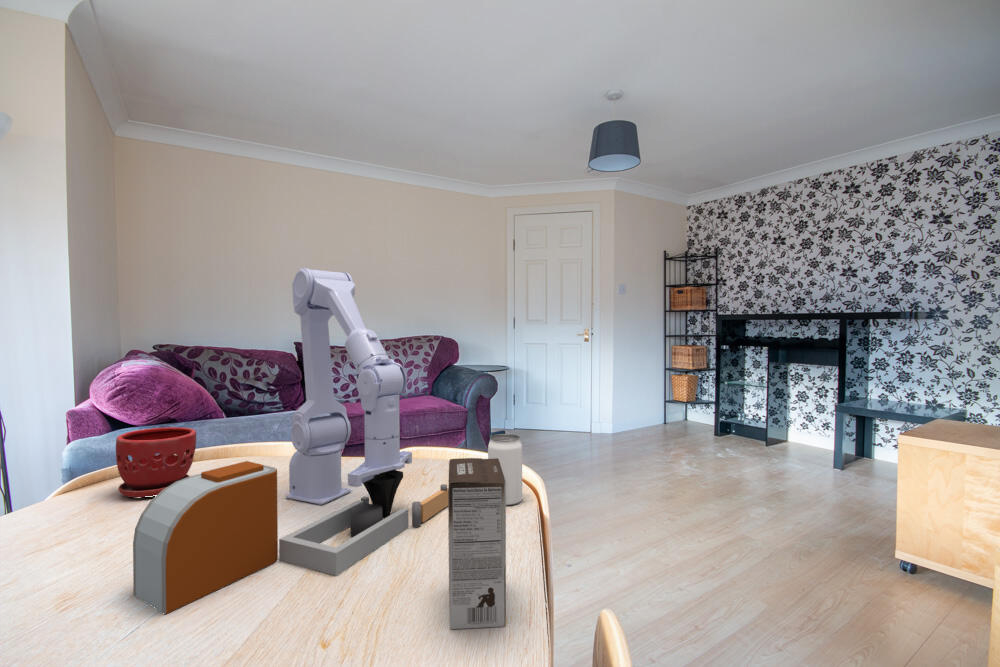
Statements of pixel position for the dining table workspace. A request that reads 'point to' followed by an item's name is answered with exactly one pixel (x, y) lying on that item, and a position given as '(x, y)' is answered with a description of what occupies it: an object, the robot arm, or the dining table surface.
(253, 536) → the grey and orange block
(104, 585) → the dining table surface
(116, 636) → the dining table surface
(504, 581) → the coffee box
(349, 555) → the grey frame
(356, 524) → the dark grey cylinder
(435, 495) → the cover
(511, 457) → the can
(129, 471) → the plant pot
